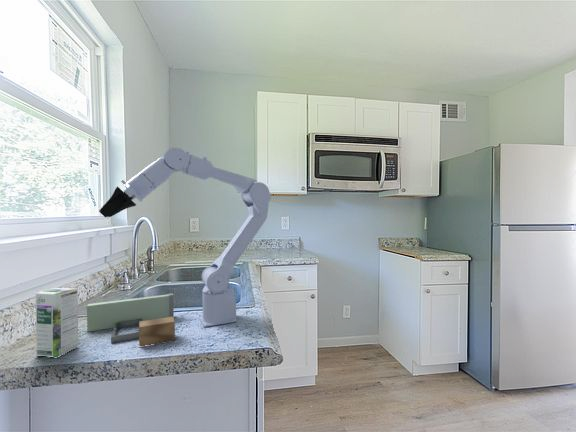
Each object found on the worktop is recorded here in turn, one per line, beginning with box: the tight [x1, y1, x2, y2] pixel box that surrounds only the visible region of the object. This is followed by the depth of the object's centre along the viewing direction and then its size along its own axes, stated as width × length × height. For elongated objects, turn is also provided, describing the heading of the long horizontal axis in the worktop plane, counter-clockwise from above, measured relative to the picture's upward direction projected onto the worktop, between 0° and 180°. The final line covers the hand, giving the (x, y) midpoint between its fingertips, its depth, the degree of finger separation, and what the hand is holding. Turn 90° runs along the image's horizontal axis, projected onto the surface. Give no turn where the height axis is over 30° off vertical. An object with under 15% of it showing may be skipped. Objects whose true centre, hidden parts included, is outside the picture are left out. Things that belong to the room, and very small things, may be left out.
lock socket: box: [110, 319, 142, 344], centre depth 79 cm, size 7×11×2 cm, turn 26°
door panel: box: [86, 292, 175, 332], centre depth 86 cm, size 22×2×7 cm, turn 116°
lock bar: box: [138, 316, 176, 347], centre depth 74 cm, size 8×4×5 cm, turn 116°
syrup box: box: [35, 287, 79, 357], centre depth 68 cm, size 6×6×14 cm
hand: (104, 214), depth 75 cm, fingers open, 7 cm apart
